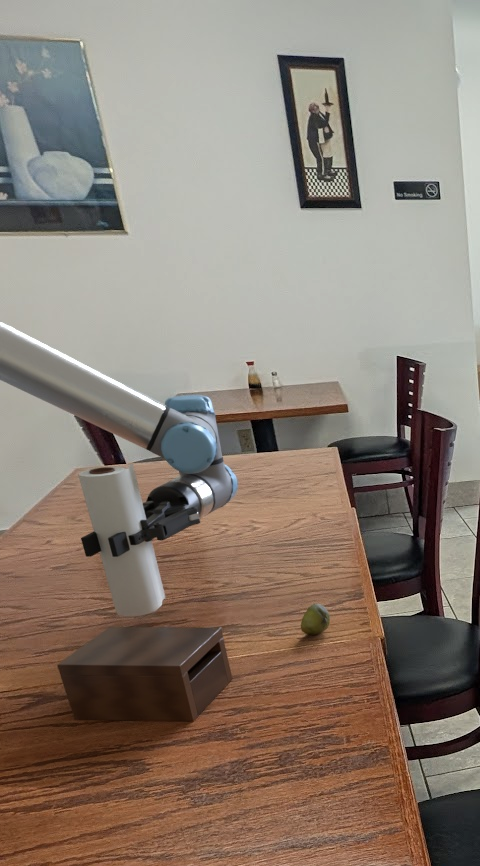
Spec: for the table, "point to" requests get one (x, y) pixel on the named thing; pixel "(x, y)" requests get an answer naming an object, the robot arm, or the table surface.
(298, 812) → the table surface
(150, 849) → the table surface
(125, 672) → the drawer box
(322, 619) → the lime
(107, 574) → the paper towel roll
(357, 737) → the table surface
